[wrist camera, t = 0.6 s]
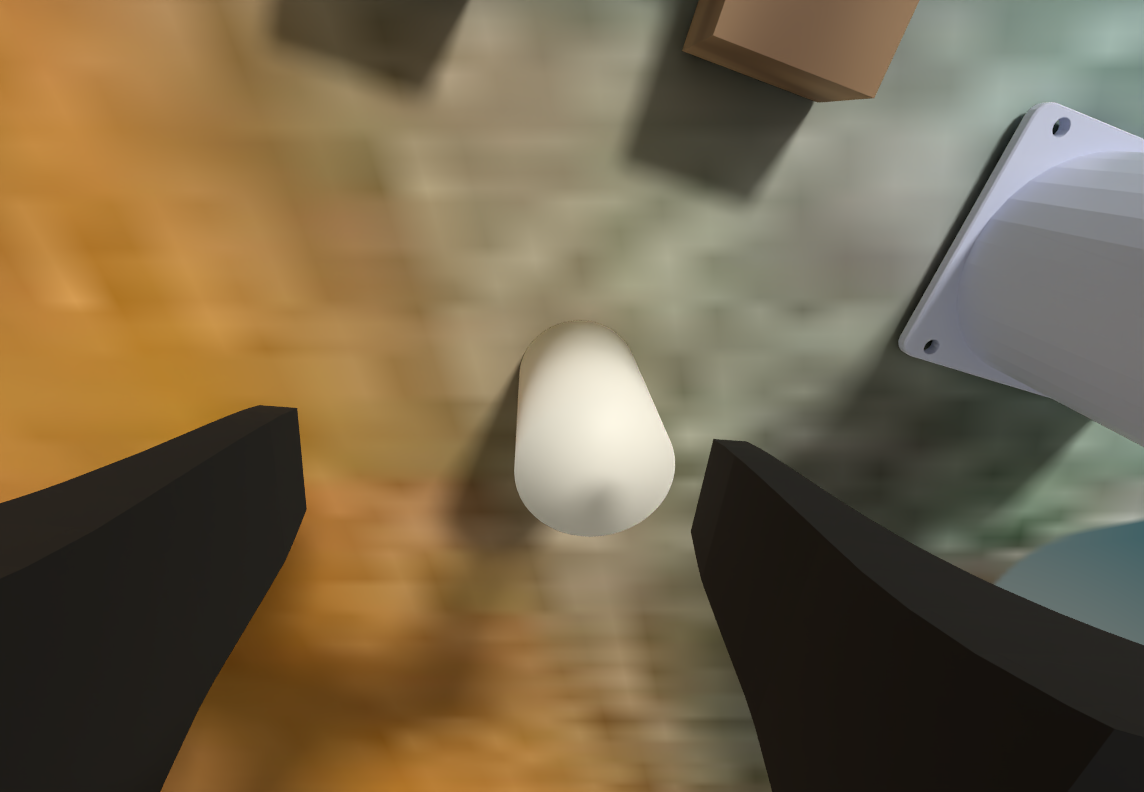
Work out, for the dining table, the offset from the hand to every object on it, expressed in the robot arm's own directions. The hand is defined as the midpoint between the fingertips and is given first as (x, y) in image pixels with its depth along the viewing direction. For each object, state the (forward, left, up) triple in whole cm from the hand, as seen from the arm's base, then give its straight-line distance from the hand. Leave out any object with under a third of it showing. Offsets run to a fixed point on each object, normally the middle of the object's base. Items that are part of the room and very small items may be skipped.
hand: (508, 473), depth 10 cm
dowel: (-2, +2, -10) cm, 10 cm away
